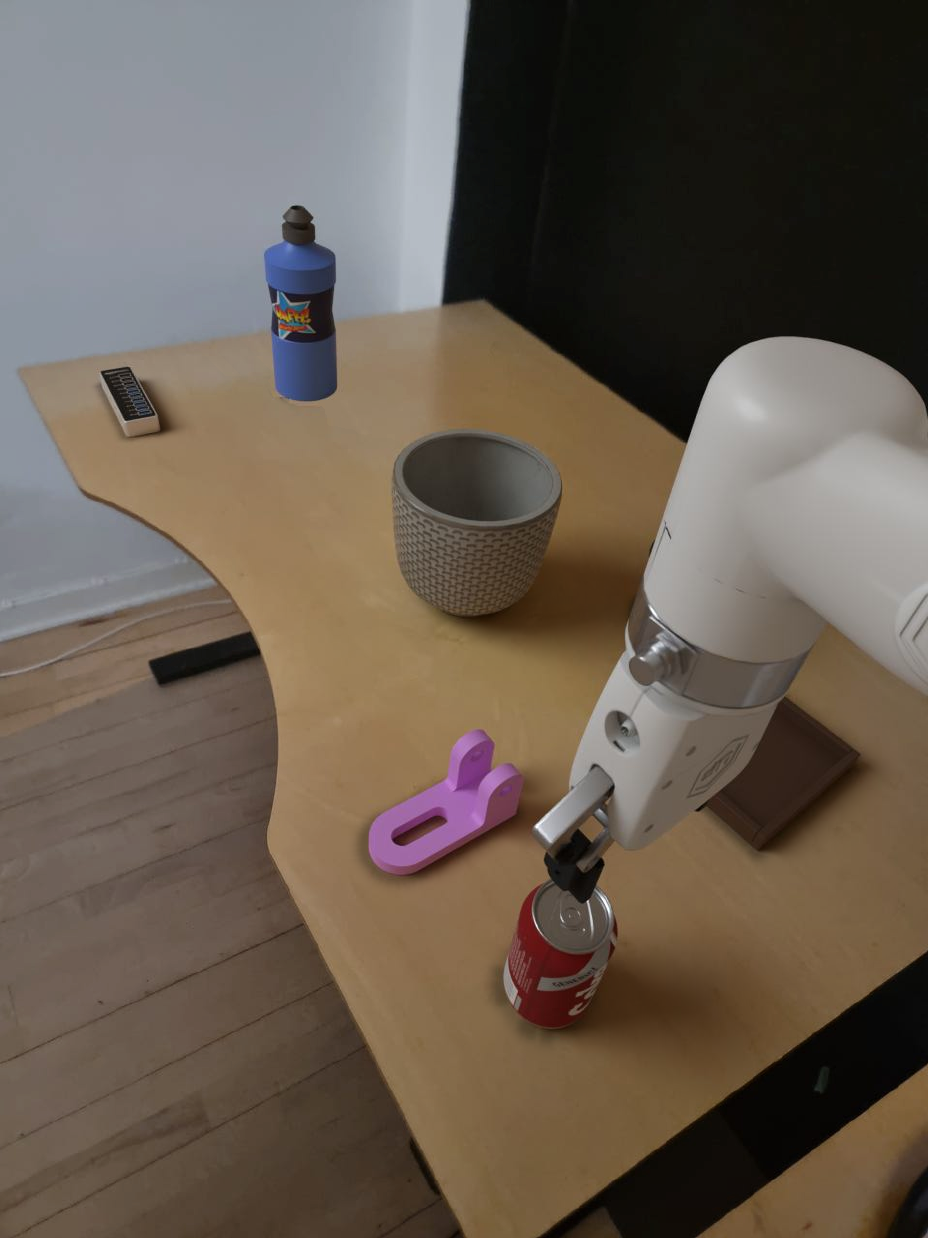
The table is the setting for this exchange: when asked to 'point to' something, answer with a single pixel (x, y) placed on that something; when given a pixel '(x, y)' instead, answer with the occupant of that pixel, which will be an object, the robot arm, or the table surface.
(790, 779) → the tray
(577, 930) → the soda can
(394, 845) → the bracket
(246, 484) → the table surface
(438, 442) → the planter
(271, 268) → the water bottle
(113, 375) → the multiport hub
